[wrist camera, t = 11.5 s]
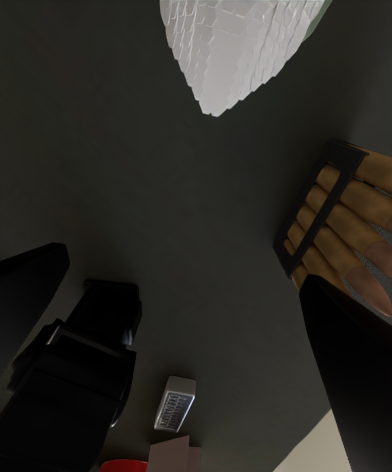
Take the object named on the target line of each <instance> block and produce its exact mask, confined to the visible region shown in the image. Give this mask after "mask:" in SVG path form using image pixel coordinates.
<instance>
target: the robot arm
mask: <svg viewBox="0 0 392 472" xmlns="http://www.w3.org/2000/svg"><path fill="white" fill-rule="evenodd" d="M69 265H70V260H69V256H68V251H67V247H66V245H65V244H63V243H55V242H52V243H49V244H46V245H44V246H41V247H38V248H35V249H32V250H30V251H27V252H24V253H21V254H18V255H16V256H13V257H10V258H7V259H4V260H2V261H0V376H1V375H2V373H3V372H4V370H5V369H6V367H7V366H8V364H9V363H10V362H11V360H12V359H13V357H14V356H15V354H16V353H17V351H18V350H19V348H20V347H21V345H22V344H23V342H24V341H25V339H26V338H27V336H28V335H29V333H30V332H31V330H32V329H33V327H34V326H35V324H36V323H37V322H38V320H39V319H40V317H41V316H42V314H43V313H44V311H45V310H46V308H47V307H48V305H49V303H50V302H51V300H52V298H53V297H54V295H55V293H56V291H57V289H58V287H59V285H60V283H61V282H62V280H63V278H64V276H65V274H66V272H67V270H68V268H69ZM83 289H84V295H83V296H82V298H81V299H80V301H79V302H78V304H77V305H76V307H75V308H74V310H73V311H72V313H71V314H70V316H69V317H68V319H67V320H66V322H62V320H60V319H58V318H57V319H56V320H55V321H54V323H53V324H50V325H45V326H44V327H43V328H42V330H41V331H40V332H39V334H38V335H37V336H36V337H35V339H34V340H33V341H32V342H31V343H30V344H29V345H28V346H27V347H26V349H25V350H24V351H23V352H22V353H21V354H20V355H19V356H18V357H17V358H16V359H15V360H14V362H13V363H12V365H11V369H12V376H11V378H10V383H9V384H8V386H7V388H6V390H5V392H8V393H11V394H13V395H12V397H11V398H10V400H9V401H8V403H7V404H6V406H5V407H4V409H3V411H2V412H1V414H0V472H89V471H90V470H91V468H92V467H93V466H94V465H95V463H96V462H97V461H98V459H99V456H100V453H101V450H102V447H103V444H104V441H105V439H106V436H107V433H108V431H109V429H110V427H112V426H114V425H115V424H116V422H117V421H118V419H119V417H120V416H121V414H122V412H123V409H124V407H125V405H126V402H127V399H128V397H129V393H130V390H131V385H132V378H133V372H134V366H135V360H136V354H137V352H135V351H130V350H128V349H126V346H127V345H131V344H132V343H133V341H134V338H135V335H136V332H137V329H138V326H139V323H140V320H141V317H142V306H141V301H139V288H138V287H137V286H136V285H130V284H122V283H114V282H105V281H97V280H89V279H86V280H85V281H84V282H83ZM134 289H135V290H134ZM299 298H300V303H301V307H302V312H303V317H304V322H305V326H306V331H307V335H308V338H309V341H310V344H311V347H312V350H313V353H314V357H315V360H316V363H317V366H318V369H319V372H320V375H321V378H322V381H323V384H324V387H325V390H326V393H327V396H328V399H329V402H330V405H331V408H332V411H333V414H334V418H335V421H336V423H337V427H338V430H339V433H340V436H341V439H342V442H343V445H344V448H345V451H346V454H347V457H348V460H349V463H350V466H351V469H352V472H392V326H391V325H390V324H388V323H387V322H386V321H384V320H383V319H381V318H380V317H378V316H377V315H376V314H374V313H373V312H371V311H370V310H369V309H367V308H366V307H364V306H363V305H361V304H360V303H359V302H357V301H356V300H354V299H353V298H352V297H350V296H349V295H347V294H346V293H344V292H343V291H342V290H340V289H339V288H337V287H336V286H335V285H333V284H332V283H330V282H329V281H327V280H326V279H325V278H323V277H322V276H320V275H315V274H308V275H307V276H306V277H305V279H304V282H303V284H302V286H301V288H300V291H299Z"/></svg>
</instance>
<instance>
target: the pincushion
mask: <svg viewBox="0 0 392 472" xmlns="http://www.w3.org/2000/svg"><path fill="white" fill-rule="evenodd" d="M324 1H325V0H160V12H161V16H162V19H163V22H164V26H166V37H167V41H168V45H169V48H172V51H173V54H174V57H175V59H177V60H178V62H179V65H180V68H181V72H184V75H185V78H186V81H187V84H188V86H191V87H192V91H193V93H194V96H195V99H196V100H198V101H199V104H200V106H201V109H202V112H203V113H204V114H208V115H209V114H210V113H212V116H216V117H218V116H220V115H221V114H222V113H223V112H224V111H225V110H226V108H228V109H230V108H232V107H233V106H234V105H235V104H236V103H237V102H238V100H243V99H244V98H245V97H246V96H248V95H249V94H250V93H251V91H253V92H254V91H255V90H256V89H257V88H258V87H259V86H260V85H261V84H262V83H263V84H265V83H266V82H267V81H268V80H269V79H270V78H271V77H272V76H274V77H275V76H276V75H277V74H278V72H279V71H280V70H281V69H282V68H283V66H284V64H285V62H286V60H287V61H288V60H289V59H290V58H291V57H292V56H293V55H294V53H295V52H296V51H297V49H298V48H299V46H300V44H301V42H302V40H303V39H304V37H305V35H306V32H307V29H308V27H309V25H310V23H311V22H312V21H313V19H314V18H315V17H316V16H317V14H318V13H319V11H320V9H321V7H322V5H323V3H324Z"/></svg>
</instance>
